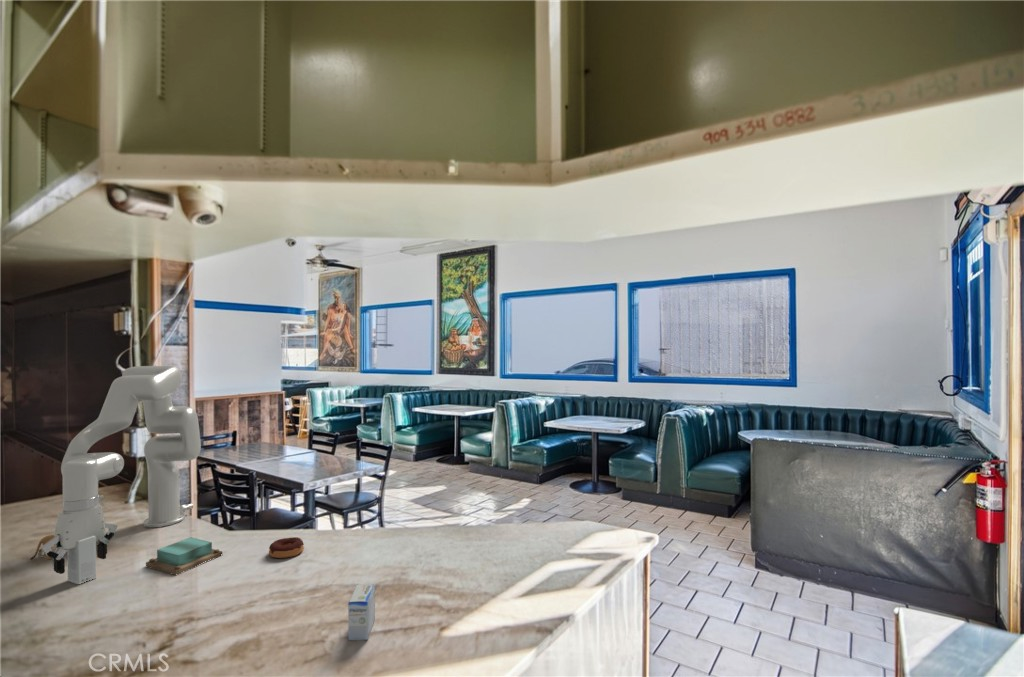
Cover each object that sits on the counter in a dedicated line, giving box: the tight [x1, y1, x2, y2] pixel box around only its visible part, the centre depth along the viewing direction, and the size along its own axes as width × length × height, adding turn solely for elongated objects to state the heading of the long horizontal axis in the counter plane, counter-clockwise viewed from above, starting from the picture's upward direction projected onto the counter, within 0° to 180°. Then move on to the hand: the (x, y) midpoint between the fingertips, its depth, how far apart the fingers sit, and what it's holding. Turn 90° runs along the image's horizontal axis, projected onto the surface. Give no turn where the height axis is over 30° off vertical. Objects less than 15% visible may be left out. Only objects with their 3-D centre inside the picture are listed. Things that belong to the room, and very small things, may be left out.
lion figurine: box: [29, 534, 55, 561], centre depth 155 cm, size 15×5×9 cm, turn 129°
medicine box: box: [347, 583, 376, 641], centre depth 113 cm, size 8×4×9 cm, turn 5°
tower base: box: [145, 536, 223, 576], centre depth 150 cm, size 14×14×4 cm
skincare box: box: [66, 536, 97, 585], centre depth 139 cm, size 6×4×12 cm
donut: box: [268, 536, 305, 559], centre depth 155 cm, size 10×10×4 cm
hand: (81, 565), depth 139 cm, fingers open, 9 cm apart
